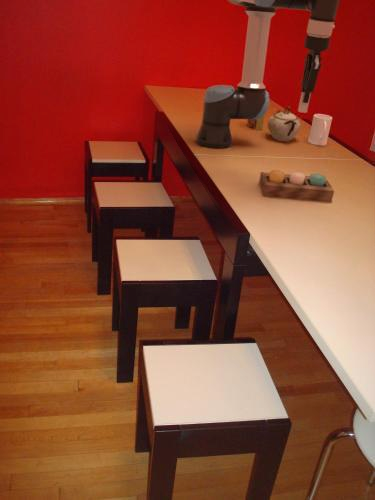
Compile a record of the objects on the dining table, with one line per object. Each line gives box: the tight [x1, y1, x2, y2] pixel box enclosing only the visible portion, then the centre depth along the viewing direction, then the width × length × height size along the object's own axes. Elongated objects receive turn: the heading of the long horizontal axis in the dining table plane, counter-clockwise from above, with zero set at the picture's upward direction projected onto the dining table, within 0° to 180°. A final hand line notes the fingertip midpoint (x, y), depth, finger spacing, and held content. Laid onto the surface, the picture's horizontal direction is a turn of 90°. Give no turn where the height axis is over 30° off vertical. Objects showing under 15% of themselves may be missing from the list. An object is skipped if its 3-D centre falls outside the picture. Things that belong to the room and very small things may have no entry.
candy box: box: [246, 114, 266, 131], centre depth 236 cm, size 9×4×15 cm, turn 23°
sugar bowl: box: [267, 105, 302, 142], centre depth 223 cm, size 20×15×15 cm
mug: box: [307, 113, 333, 147], centre depth 222 cm, size 12×8×12 cm
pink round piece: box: [289, 171, 306, 185], centre depth 169 cm, size 5×5×5 cm
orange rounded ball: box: [269, 169, 285, 183], centre depth 169 cm, size 5×5×5 cm
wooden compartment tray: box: [258, 171, 335, 203], centre depth 170 cm, size 23×12×4 cm, turn 90°
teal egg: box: [309, 173, 327, 187], centre depth 169 cm, size 5×5×5 cm
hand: (302, 111), depth 165 cm, fingers closed
